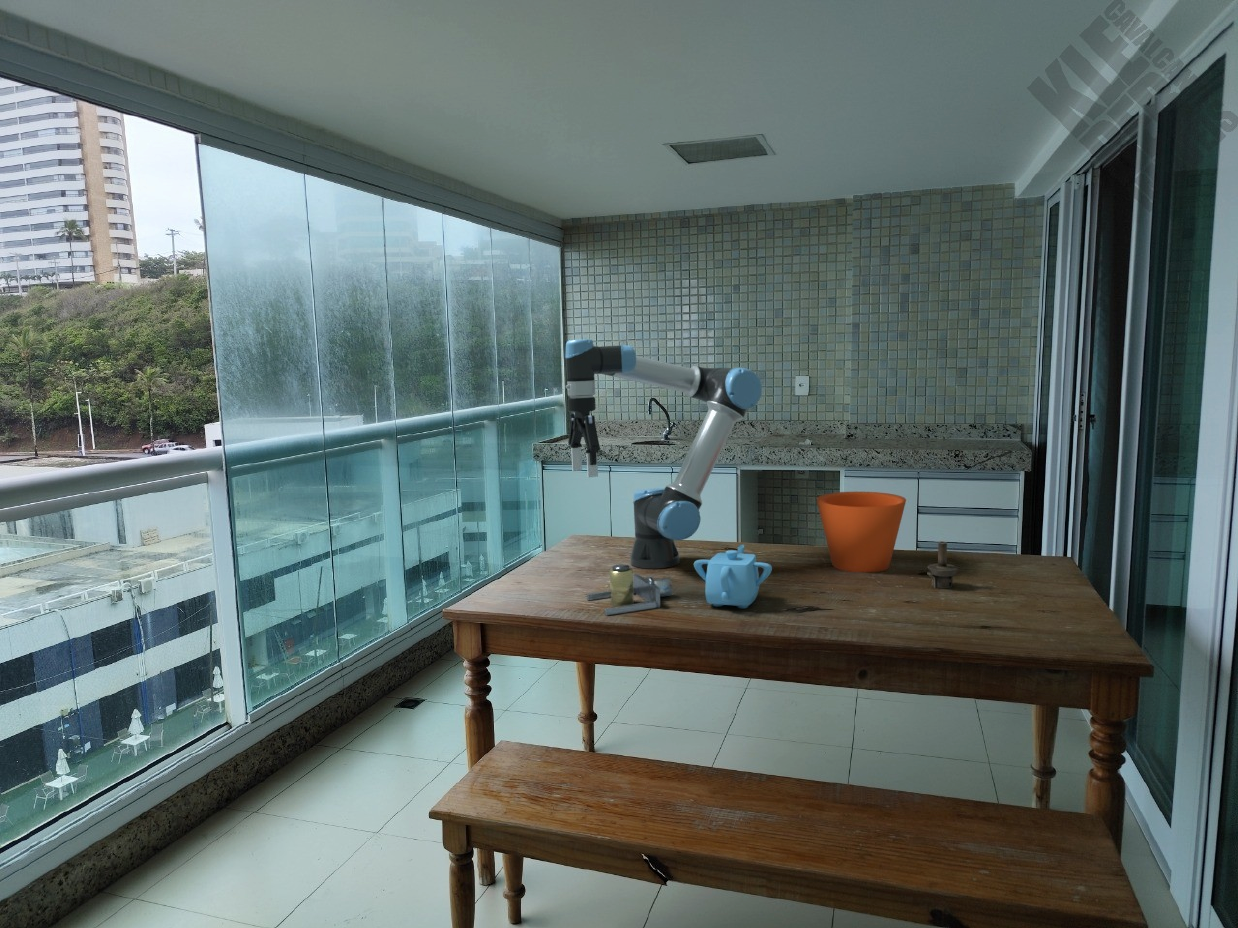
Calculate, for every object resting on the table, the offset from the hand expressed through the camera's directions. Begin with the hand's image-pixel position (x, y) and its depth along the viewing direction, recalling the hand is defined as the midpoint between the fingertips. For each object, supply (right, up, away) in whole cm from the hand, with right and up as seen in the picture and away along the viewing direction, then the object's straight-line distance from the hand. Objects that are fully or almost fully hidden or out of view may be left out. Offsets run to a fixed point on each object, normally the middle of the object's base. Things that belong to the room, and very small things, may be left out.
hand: (584, 473), depth 227 cm
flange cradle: (+13, -33, -12) cm, 38 cm away
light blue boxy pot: (+39, -33, -14) cm, 53 cm away
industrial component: (+94, -30, -9) cm, 99 cm away
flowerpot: (+80, -27, +15) cm, 86 cm away
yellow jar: (+10, -34, -14) cm, 38 cm away
